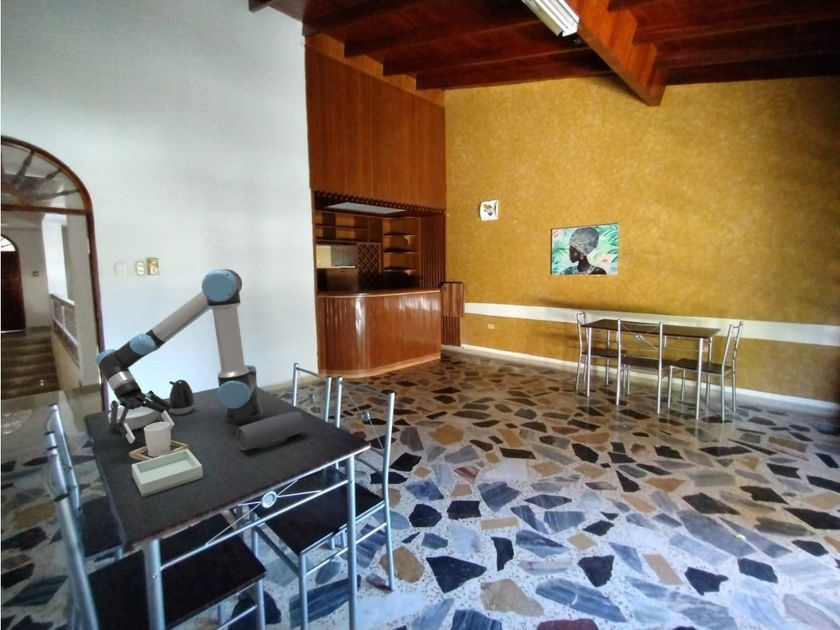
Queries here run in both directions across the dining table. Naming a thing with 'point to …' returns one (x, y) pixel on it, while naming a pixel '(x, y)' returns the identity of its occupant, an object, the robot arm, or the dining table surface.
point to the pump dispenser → (181, 397)
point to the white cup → (158, 438)
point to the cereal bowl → (136, 417)
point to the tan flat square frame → (138, 456)
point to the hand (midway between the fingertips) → (153, 433)
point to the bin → (166, 472)
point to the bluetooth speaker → (270, 431)
